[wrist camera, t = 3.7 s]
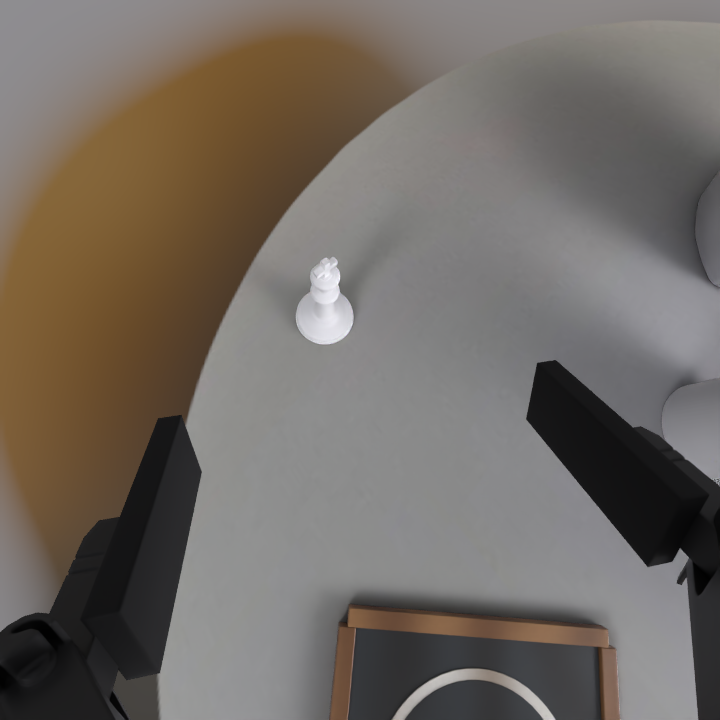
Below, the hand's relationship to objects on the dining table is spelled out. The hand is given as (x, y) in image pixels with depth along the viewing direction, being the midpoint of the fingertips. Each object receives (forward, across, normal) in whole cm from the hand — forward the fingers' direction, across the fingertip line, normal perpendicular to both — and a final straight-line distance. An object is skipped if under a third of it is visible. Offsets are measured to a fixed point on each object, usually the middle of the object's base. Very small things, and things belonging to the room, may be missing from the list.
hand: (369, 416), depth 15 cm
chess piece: (+21, 0, -5) cm, 21 cm away
